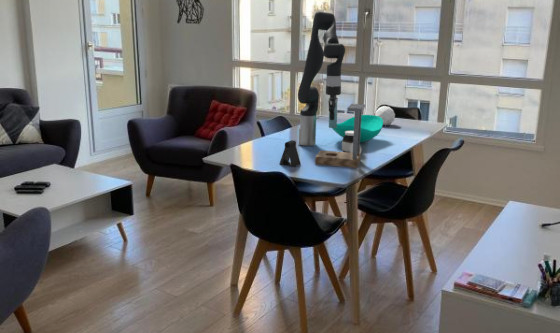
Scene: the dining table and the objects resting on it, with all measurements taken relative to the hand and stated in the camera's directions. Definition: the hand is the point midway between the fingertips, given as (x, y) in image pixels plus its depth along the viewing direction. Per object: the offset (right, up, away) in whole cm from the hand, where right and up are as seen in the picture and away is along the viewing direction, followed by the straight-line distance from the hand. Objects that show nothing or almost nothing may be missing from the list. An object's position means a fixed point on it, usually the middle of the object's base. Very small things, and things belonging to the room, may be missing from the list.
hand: (332, 119), depth 280 cm
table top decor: (+19, -9, +51) cm, 55 cm away
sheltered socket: (+4, -22, +4) cm, 23 cm away
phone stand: (-22, -23, -1) cm, 32 cm away
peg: (0, -4, +1) cm, 4 cm away
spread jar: (+13, -17, +22) cm, 31 cm away
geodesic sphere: (+45, +4, +101) cm, 111 cm away
